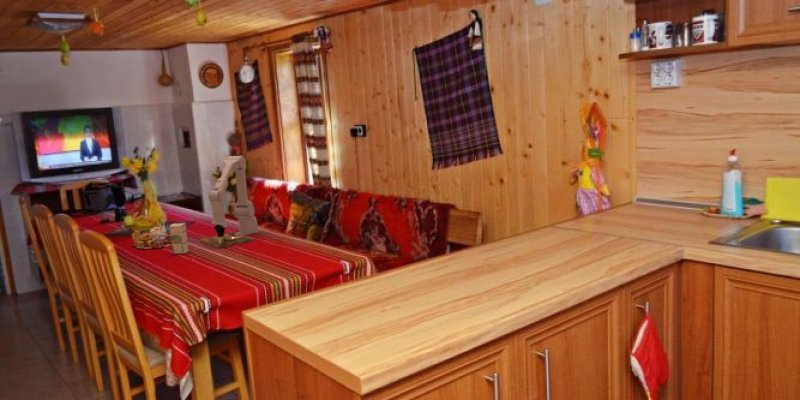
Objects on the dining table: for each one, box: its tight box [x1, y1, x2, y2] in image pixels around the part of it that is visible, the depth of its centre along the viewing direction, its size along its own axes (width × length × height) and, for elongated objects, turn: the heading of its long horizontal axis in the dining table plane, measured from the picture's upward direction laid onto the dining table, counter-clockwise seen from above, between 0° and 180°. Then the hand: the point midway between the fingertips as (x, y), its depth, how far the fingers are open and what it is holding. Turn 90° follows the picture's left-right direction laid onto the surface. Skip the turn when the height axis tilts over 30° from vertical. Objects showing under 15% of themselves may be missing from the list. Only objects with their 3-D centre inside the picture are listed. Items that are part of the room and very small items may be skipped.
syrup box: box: [169, 222, 189, 255], centre depth 307 cm, size 6×6×14 cm
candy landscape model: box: [131, 226, 172, 250], centre depth 329 cm, size 25×24×9 cm
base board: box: [199, 231, 255, 249], centre depth 327 cm, size 20×22×2 cm
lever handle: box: [218, 231, 243, 244], centre depth 323 cm, size 18×11×3 cm, turn 166°
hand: (221, 239), depth 320 cm, fingers closed, pressing on lever handle
